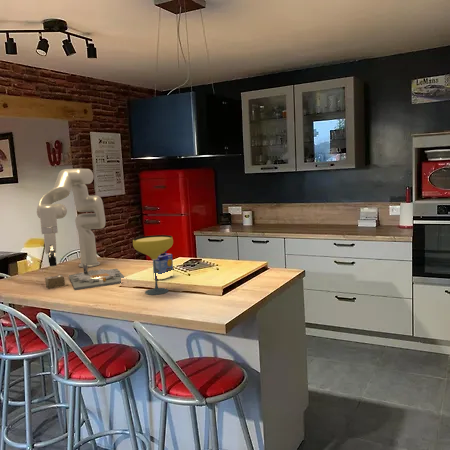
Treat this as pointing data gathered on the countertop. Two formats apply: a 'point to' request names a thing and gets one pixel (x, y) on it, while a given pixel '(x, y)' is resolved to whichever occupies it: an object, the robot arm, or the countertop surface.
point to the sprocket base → (95, 282)
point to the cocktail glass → (153, 253)
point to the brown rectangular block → (55, 281)
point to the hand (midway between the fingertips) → (52, 264)
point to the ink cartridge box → (163, 263)
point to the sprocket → (95, 275)
